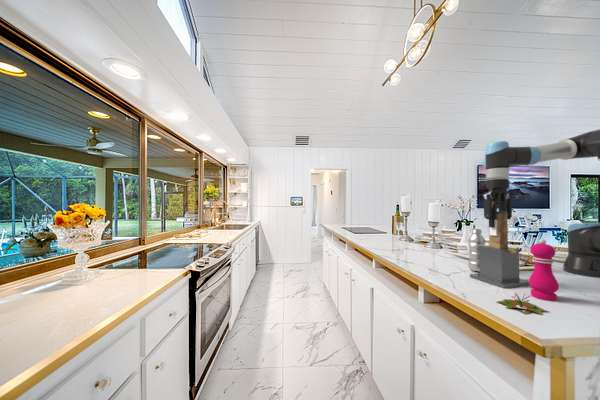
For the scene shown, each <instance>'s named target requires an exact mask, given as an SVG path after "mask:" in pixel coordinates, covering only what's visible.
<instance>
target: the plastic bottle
mask: <svg viewBox="0 0 600 400" xmlns="http://www.w3.org/2000/svg"><path fill="white" fill-rule="evenodd" d="M467 240H468V242H467V243H468V247H469V260H468V263H467V264H468V266H467V267H468V268H469V270H470V271H473V272H476V271H477V272H478V273H480V247H479V246H486V239H485V237H484V236H483V235H482V229H481V228H479V229H478V228H472V229H471V235H470V236H469V238H468V239H467Z"/></svg>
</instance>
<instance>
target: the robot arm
mask: <svg viewBox="0 0 600 400" xmlns="http://www.w3.org/2000/svg"><path fill="white" fill-rule="evenodd" d="M484 155H485V157H484V158H483V159H482V163H481V164H482V167H483V168H484V169H485V179H486V181H485V188H486V189H487V190H488V191H487V193H484V194H482V196H481V197H482V199H483V217H484V219H486V220H488V228H489V227H490V235H494V236H498V225H497V220H495V219H496V213H497V211H502V212H507V221H508V220H509V221H510V220H511V218H513V207H512V206H513V198H514V195H513V194H509V193H508V191H507V189H509V188H510V179H509V178H510V168H513V167H519V166H531V165H536V164H538V163H543V162H548V161H553V160H563V161H565V160H572V159H586V158H587V159H588V158H597V161H599V162H600V128H599V129H595V130H592V131H588V132H584V133H582V134H579V135H576V136H573V137H569V138H564V139H561V140H559V141H558V142H554V143H550V144H544V145H543V144H542V145H538V146H537V145H536V146H530V145H529V146H528V145H527V146H510V145H509V142H508V141H505V140H501V141H500V140H499V141H494V142H493V141H492V142H490V143H488V144H486V145H485V153H484ZM566 234H567V251H568V253H567V254H568V255H567V257H566V258H565V261H564V263H563V266H562V268H563V271H565V272H567V273H571V274H575V275H581V276H586V277H587V276H588V277H594V278H600V222H590V223H589V222H588V223H587V222H585V223H584V222H583V223H571V224H569V225H568V226H567V233H566Z"/></svg>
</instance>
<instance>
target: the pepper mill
mask: <svg viewBox="0 0 600 400" xmlns="http://www.w3.org/2000/svg"><path fill="white" fill-rule="evenodd" d="M530 254H531V255H533V256H532V262H534V268H533V270H532V273H531V275H530V276H529V278H528V281H529V285H530V287H531V288H532V289H530V297H533V298H536V299H538V300H541V301H542V300H543V301H546V302H547V301H549V302H554V301H555V302H556V301H557V300H558V298H557V297H558V295H557V293H556V292H557V291H558V290H559V289H560V288H559V283H558V281H557V279H556V277H555V276H554V273H553V268H552V264H553V263H554V259H553V257H555V255H556V250H555V248H554V247H553V246H552V245H550V244H547V240H546V239H544V238H541V239H540V238H539V240H538V243H534V244H532V246H531V247H530Z"/></svg>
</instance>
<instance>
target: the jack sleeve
mask: <svg viewBox="0 0 600 400" xmlns="http://www.w3.org/2000/svg"><path fill="white" fill-rule="evenodd" d="M479 247H480V272H478V273H469V278H470V277H471V279H473V278H474V280H476V279H477V281H479V280H480V282H482V283H483V282H484V283H485V284H489V285H491V286H494V287H495V286H496V287H498V288H502V289H511V288H510V287H512V288H521V287H520V286H522V287H529V286H530V285H529V280H526V279H522V278H520V249H519V248H515V247H509V246H508V248H506V249H498V248H493V247H489V245H485V246H479ZM530 287H531V286H530Z"/></svg>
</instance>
